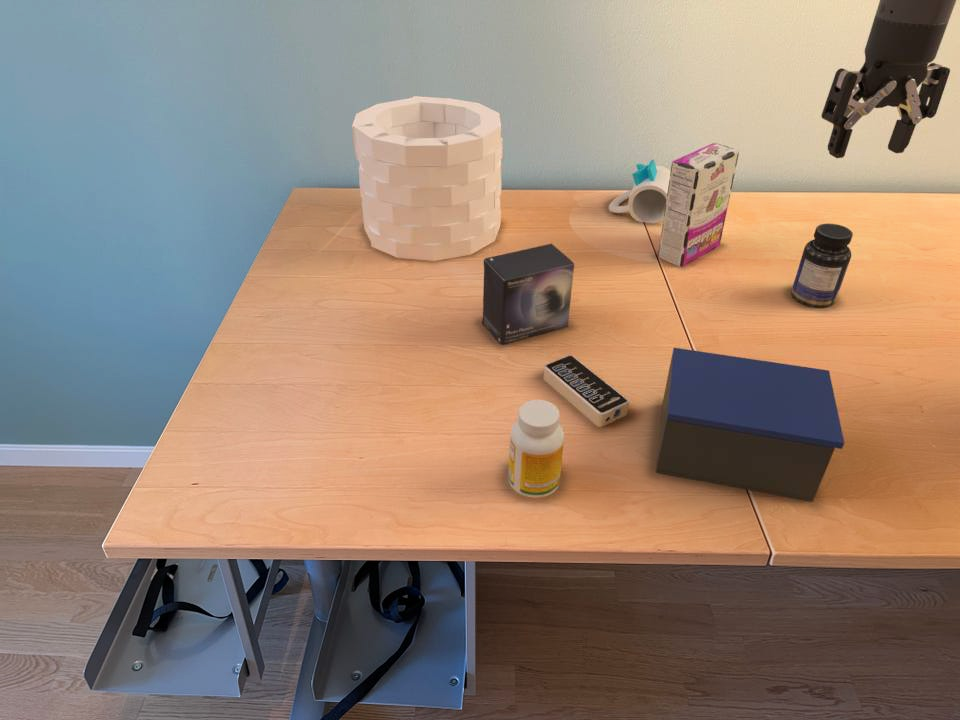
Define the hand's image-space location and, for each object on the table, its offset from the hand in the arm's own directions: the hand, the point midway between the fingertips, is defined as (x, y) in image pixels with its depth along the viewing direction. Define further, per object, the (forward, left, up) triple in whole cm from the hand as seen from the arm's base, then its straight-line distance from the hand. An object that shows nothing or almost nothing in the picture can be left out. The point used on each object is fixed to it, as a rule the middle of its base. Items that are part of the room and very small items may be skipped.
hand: (865, 153), depth 89 cm
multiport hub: (+30, +31, -22) cm, 48 cm away
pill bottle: (+1, 0, -22) cm, 22 cm away
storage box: (+13, +36, -22) cm, 44 cm away
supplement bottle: (+33, +46, -22) cm, 61 cm away
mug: (+28, -25, -22) cm, 43 cm away
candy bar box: (+19, -10, -22) cm, 30 cm away
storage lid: (+12, +36, -14) cm, 41 cm away
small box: (+40, +18, -22) cm, 49 cm away
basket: (+62, -8, -22) cm, 66 cm away
